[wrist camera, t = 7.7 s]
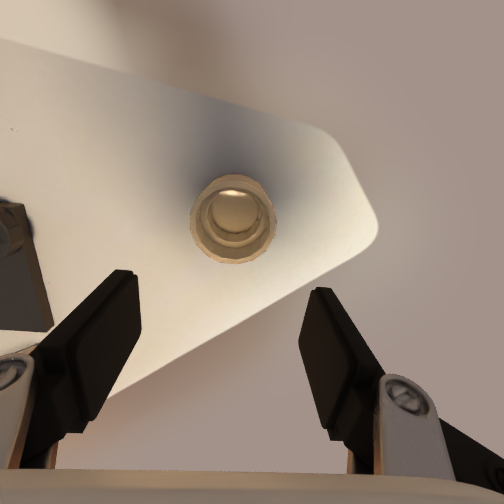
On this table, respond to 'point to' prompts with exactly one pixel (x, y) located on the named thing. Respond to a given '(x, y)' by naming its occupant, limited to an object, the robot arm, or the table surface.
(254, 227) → the little bowl
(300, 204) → the table surface
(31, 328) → the scale
